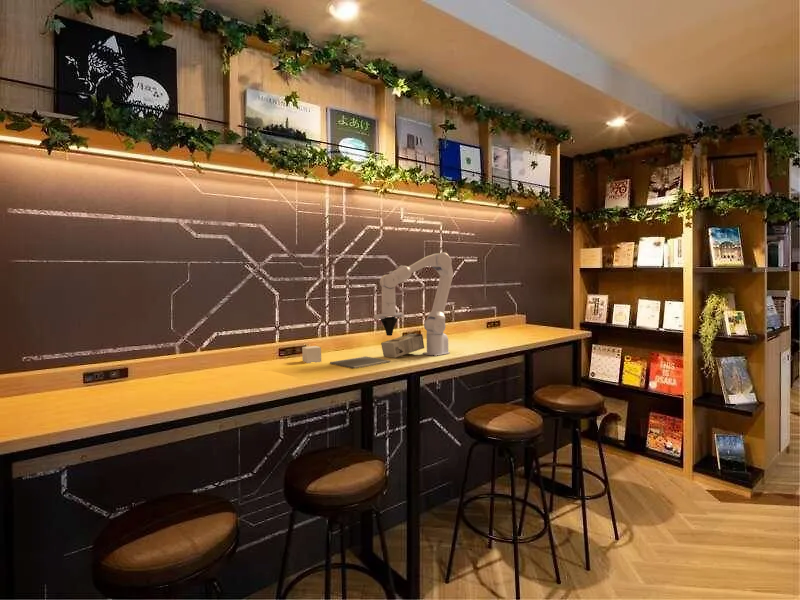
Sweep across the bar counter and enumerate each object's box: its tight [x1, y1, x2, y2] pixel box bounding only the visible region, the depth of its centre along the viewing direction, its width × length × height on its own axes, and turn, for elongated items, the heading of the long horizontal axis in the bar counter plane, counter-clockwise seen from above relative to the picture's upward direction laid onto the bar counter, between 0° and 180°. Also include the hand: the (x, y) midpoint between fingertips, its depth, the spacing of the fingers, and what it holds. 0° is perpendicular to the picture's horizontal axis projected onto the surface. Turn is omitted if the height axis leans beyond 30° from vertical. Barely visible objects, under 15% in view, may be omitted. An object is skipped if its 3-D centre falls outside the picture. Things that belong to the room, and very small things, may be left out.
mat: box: [329, 356, 392, 369], centre depth 182 cm, size 18×16×1 cm
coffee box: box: [380, 333, 425, 359], centre depth 198 cm, size 9×6×16 cm
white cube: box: [301, 345, 322, 364], centre depth 188 cm, size 6×6×6 cm
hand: (389, 335), depth 193 cm, fingers closed
